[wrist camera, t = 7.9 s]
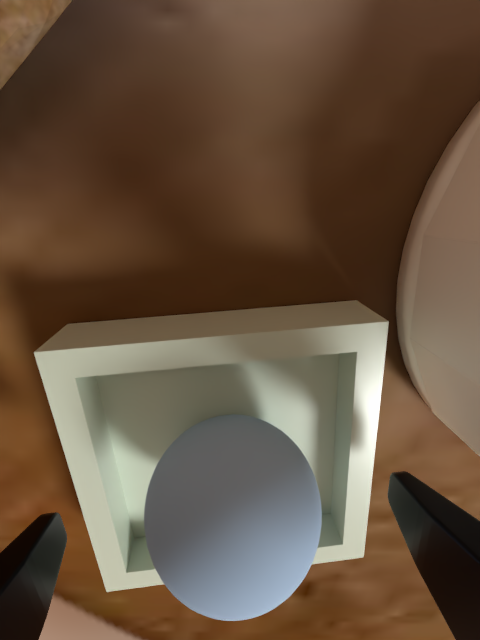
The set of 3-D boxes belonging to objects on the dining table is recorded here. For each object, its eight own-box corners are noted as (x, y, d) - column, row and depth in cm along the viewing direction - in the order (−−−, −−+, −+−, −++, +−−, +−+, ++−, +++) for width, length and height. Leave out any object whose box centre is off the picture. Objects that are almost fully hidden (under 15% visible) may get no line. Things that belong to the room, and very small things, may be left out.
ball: (296, 488, 12) (345, 652, 7) (168, 503, 11) (143, 683, 7) (296, 377, 10) (359, 504, 6) (148, 391, 10) (101, 535, 6)
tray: (356, 300, 10) (389, 321, 8) (342, 507, 13) (363, 557, 12) (67, 323, 10) (33, 352, 8) (121, 535, 13) (106, 591, 11)
